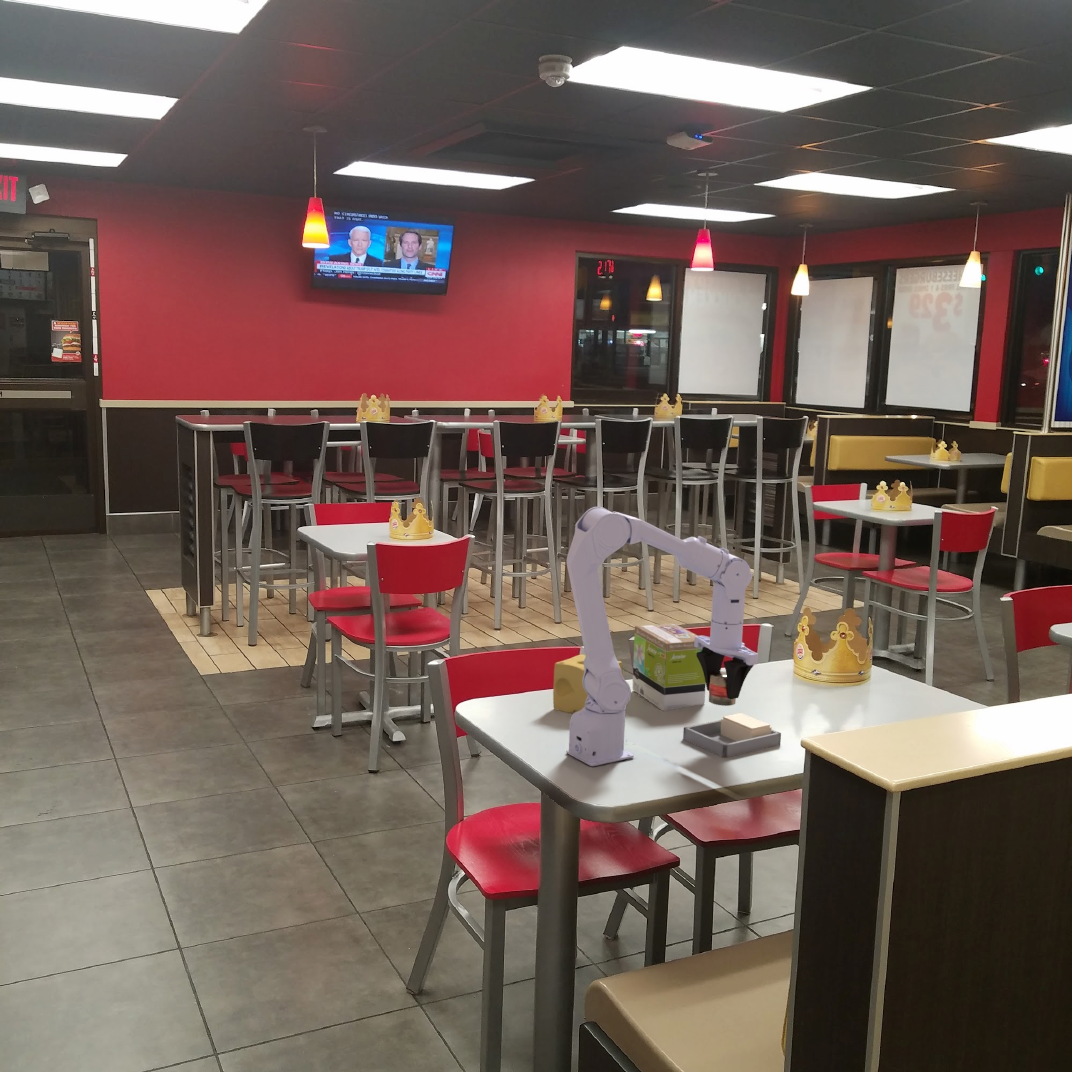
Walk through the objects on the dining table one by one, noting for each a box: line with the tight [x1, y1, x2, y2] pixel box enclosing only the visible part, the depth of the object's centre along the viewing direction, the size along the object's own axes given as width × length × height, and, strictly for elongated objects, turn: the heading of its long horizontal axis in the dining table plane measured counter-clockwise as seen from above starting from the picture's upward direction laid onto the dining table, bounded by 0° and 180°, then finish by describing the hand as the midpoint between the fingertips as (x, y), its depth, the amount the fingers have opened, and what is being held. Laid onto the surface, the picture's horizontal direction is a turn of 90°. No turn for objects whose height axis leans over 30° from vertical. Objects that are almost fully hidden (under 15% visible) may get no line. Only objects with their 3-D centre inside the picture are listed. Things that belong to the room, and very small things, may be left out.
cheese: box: [552, 653, 624, 714], centre depth 212 cm, size 10×11×10 cm
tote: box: [682, 719, 782, 759], centre depth 193 cm, size 14×11×3 cm
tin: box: [708, 670, 737, 707], centre depth 190 cm, size 5×5×5 cm
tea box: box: [632, 622, 706, 712], centre depth 219 cm, size 15×10×15 cm
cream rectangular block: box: [720, 712, 772, 741], centre depth 195 cm, size 5×8×4 cm, turn 33°
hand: (722, 694), depth 190 cm, fingers closed on tin, 5 cm apart
